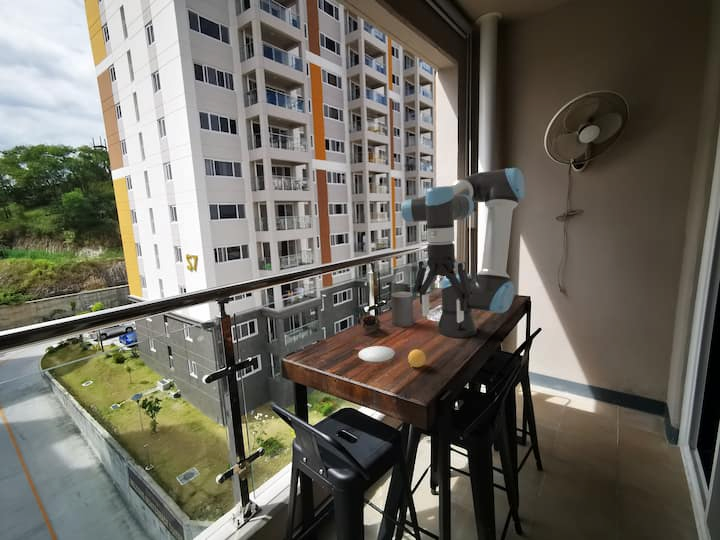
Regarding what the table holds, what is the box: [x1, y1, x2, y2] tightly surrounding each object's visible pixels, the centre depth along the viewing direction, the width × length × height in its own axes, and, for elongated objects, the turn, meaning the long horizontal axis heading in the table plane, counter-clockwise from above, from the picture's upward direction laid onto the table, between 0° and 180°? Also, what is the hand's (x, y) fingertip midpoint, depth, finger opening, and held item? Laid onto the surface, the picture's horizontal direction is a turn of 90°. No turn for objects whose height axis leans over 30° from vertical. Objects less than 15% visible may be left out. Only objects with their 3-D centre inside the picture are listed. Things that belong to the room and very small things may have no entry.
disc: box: [357, 345, 396, 363], centre depth 117 cm, size 13×13×1 cm
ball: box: [407, 348, 426, 368], centre depth 105 cm, size 6×6×6 cm
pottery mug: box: [356, 314, 382, 336], centre depth 140 cm, size 12×10×8 cm
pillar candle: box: [390, 291, 414, 328], centre depth 146 cm, size 10×10×15 cm
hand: (442, 318), depth 96 cm, fingers open, 10 cm apart
